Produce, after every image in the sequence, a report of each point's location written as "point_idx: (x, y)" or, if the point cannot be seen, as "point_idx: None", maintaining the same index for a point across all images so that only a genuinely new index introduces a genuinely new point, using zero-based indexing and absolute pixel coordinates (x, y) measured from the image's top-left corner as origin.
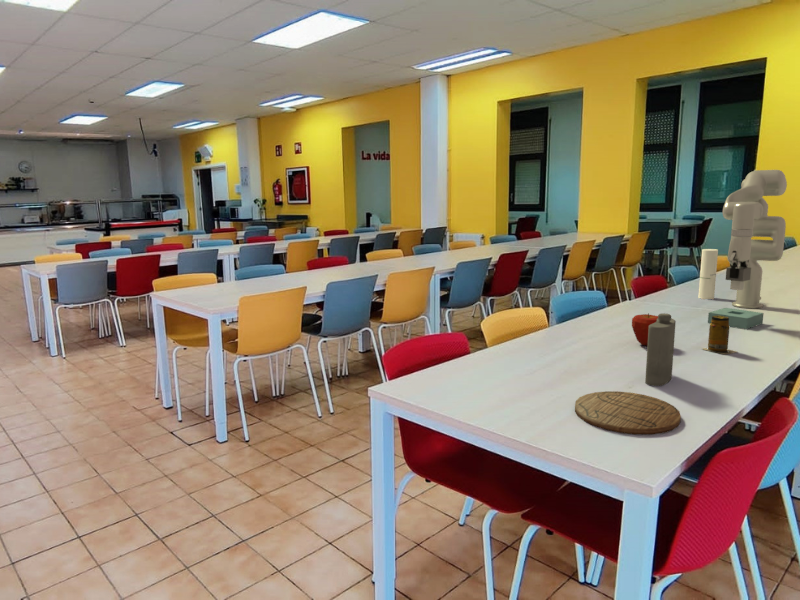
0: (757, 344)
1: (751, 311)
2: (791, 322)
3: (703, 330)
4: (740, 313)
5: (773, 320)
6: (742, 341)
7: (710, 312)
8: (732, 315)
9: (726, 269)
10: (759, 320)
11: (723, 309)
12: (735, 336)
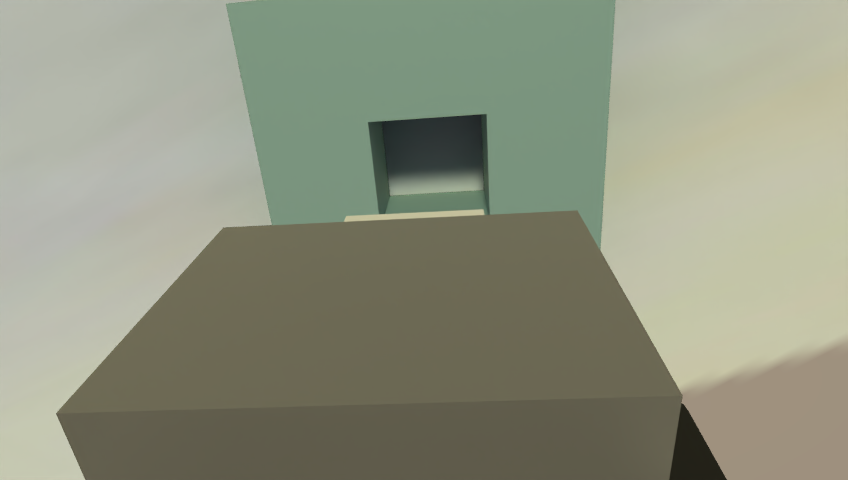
0: (52, 452)
1: (592, 229)
2: (757, 358)
3: (17, 127)
4: (488, 183)
5: (751, 267)
6: (29, 392)
7: (241, 16)
8: (295, 213)
9: (93, 374)
10: None
11: (496, 14)
12: (86, 326)
